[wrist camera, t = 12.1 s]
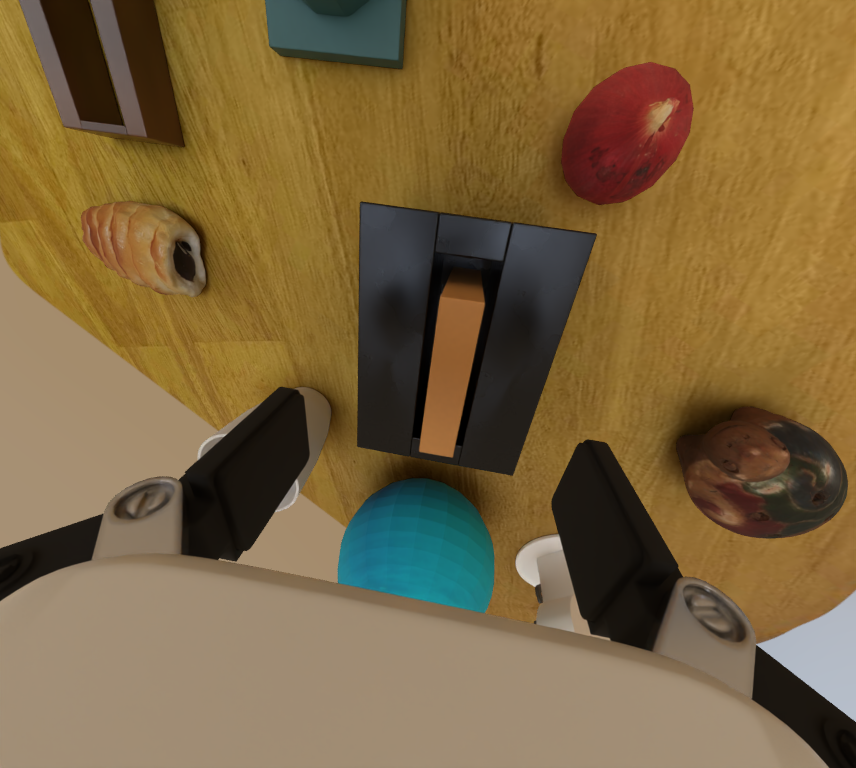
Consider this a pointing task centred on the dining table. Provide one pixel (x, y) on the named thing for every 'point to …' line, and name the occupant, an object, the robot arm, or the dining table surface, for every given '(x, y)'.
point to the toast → (452, 360)
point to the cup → (317, 433)
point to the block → (339, 30)
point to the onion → (627, 133)
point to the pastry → (146, 246)
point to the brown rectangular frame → (87, 74)
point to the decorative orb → (420, 546)
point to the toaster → (498, 337)
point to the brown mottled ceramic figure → (763, 475)
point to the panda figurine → (551, 585)
